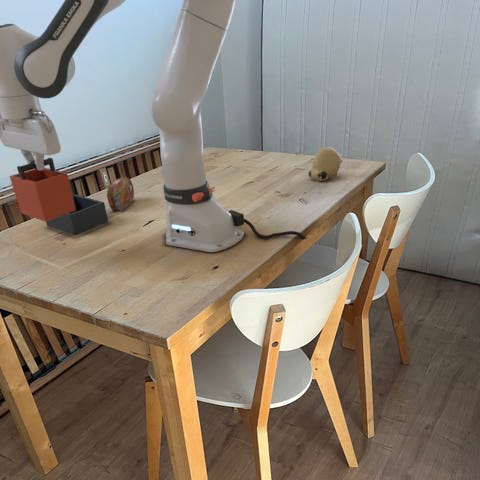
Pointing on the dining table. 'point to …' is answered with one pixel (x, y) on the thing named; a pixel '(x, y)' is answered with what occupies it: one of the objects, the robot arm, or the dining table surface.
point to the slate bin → (81, 216)
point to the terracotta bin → (42, 191)
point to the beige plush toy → (325, 164)
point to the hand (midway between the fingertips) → (36, 168)
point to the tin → (120, 193)
